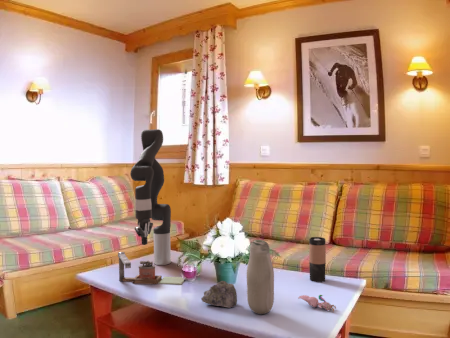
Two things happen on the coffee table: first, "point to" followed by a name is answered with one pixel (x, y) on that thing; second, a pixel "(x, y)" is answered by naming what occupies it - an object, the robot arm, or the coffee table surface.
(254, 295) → the brown clay vase
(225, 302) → the mineral rock
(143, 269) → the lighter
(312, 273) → the travel mug
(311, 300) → the pink elongated figure
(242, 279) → the coffee table surface
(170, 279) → the pad
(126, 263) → the grey bar
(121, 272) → the dock
